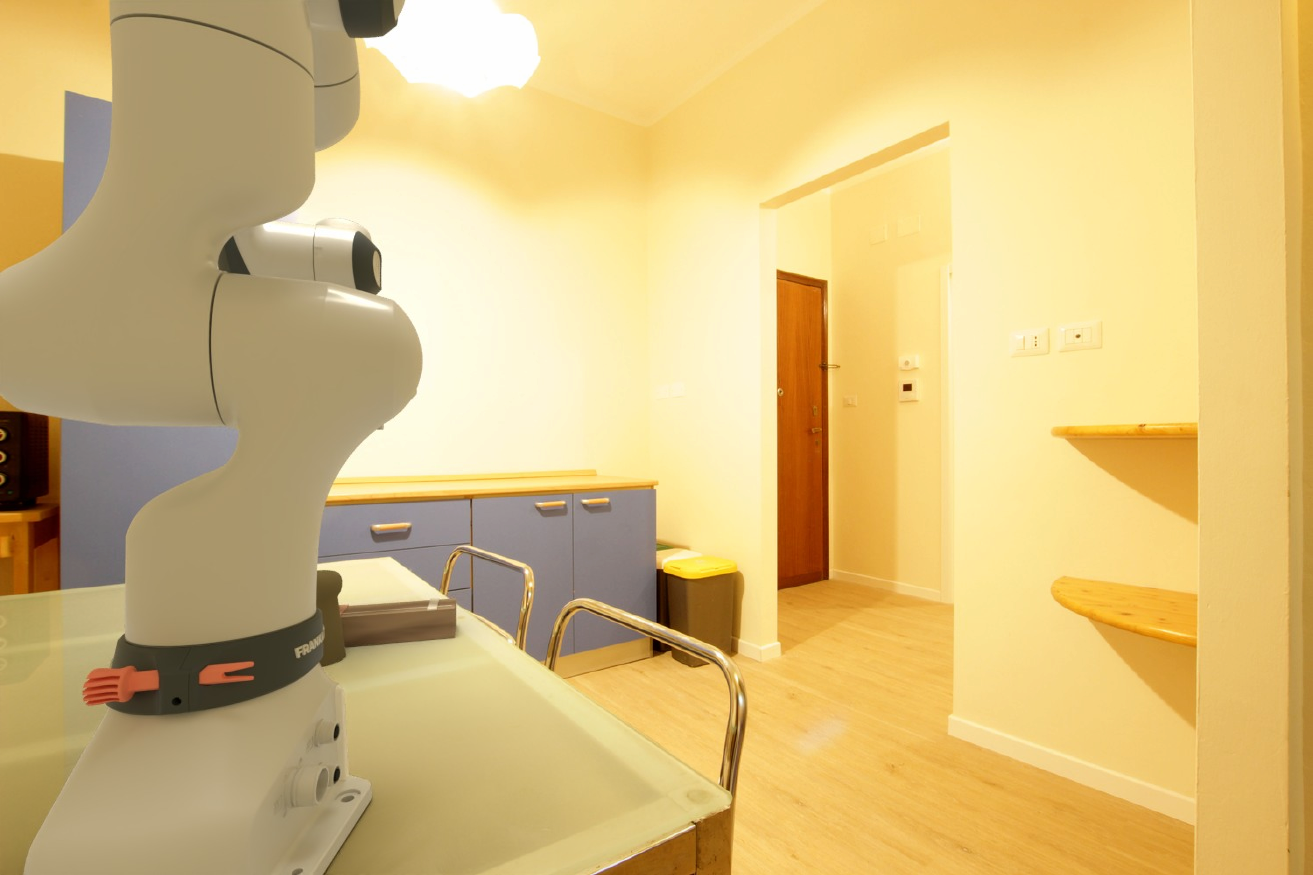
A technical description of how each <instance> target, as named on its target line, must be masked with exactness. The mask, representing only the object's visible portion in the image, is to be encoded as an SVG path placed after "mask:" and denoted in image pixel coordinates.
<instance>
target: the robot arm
mask: <svg viewBox="0 0 1313 875" xmlns="http://www.w3.org/2000/svg"><path fill="white" fill-rule="evenodd" d="M108 1H109V3H108V4H109V6H108V7H109V10H108V11H109V27H110V30H109V32H110V52H111V54H110V55H111V56H110V57H111V84H112V85H111V125H110V138H109V140H110V141H109V142H110V143H109V151H108V155H107V162H106V164H105V167H104V171H103V174H102V178H101V180H100V182H99V184H98V186H97V188H96V191H95V193H94V194H93V196H92V198H91V199H90V201H89V203H87V206H86V207H85V209H84V210H83V211H82V213H81V214H80V215H79V216H78V218H77V219H76V220H75V222H74V223H73V224H72V225H71V226H70V227H69V228H68V229H67V230H66V231H64V233H62V235H60V236H59V237H58V238H57V239H56V240H54V241H53V242H51V243H50V244H48V246H46V247H45V248H43V249H42V250H40V251H38V252H37V253H35V254H34V255H32V256H30V257H28V258H25V259H24V260H22V261H20V262H17V263H16V264H15V263H14V264H13V265H11V266H9V267H6V268H5V269H3V270H2V271H1V272H0V397H1V398H2V399H3V400H4V401H6V402H7V403H9V405H11V406H13V407H14V408H16V409H18V410H20V411H23V412H26V413H31V414H37V415H41V416H42V415H43V416H47V417H54V418H59V419H64V420H72V421H78V422H84V423H90V424H91V423H92V424H98V425H104V426H110V427H111V426H112V427H196V428H197V427H205V428H208V427H210V428H211V427H216V428H219V427H220V428H228V429H234V430H237V431H238V438H237V443H236V446H235V449H234V451H233V454H232V455H231V457H230V458H229V459H228V461H227V462H226V463H225V464H224V465H221V466H220V467H218V468H216V469H214V470H212V471H209V472H206V473H203V474H201V475H199V476H196V477H194V478H192V479H189V480H187V481H184V482H182V483H181V484H178V485H176V486H174V487H172V488H170V489H168V490H166V491H164V492H163V493H160V494H158V495H157V496H155V497H153V498H152V499H151V500H149V501H148V502H146V503H145V504H144V505H143V506H142V507H141V509H139V511H138V512H137V513H136V514H135V516H134V517H133V519H132V521H131V522H130V524H129V527H128V528H127V530H126V531H127V532H126V534H125V561H124V562H125V565H124V566H125V567H124V568H125V571H124V575H125V576H124V577H125V578H124V580H125V581H124V583H125V584H124V633H123V634H122V635H121V636H120V637H119V638H118V639H117V642H116V645H115V649H114V650H115V651H114V654H113V658H112V659H111V661H110V663H109V666H108V667H103V668H102V667H100V668H95V669H92V670H91V671H90V672H89V673H88V675H87V677H86V678H85V679H86V681H85V682H83V683H84V684H83V686H82V689H83V690H82V694H81V695H82V696H83V698H82V701H83V702H84V703H85V702H86V703H85V705H87V706H88V707H89V706H91V707H92V706H99V705H104V704H105V705H106V706H107V707H108V708H107V709H106V712H105V714H104V717H103V718H102V720H101V721H100V724H99V725H98V727H97V729H96V730H95V732H94V734H93V736H92V737H91V739H90V740H89V741H88V743H87V744H86V747H85V748H84V750H83V752H82V753H81V755H80V757H79V758H78V760H77V762H76V764H75V766H74V767H73V769H72V771H71V773H70V775H69V776H68V778H67V780H66V782H65V784H64V785H63V787H62V789H61V790H60V791H59V794H58V796H57V797H56V799H55V801H54V803H53V804H52V806H51V808H50V809H49V812H48V814H47V815H46V817H45V819H44V820H43V822H42V824H41V826H40V828H39V830H38V831H37V833H36V835H35V837H34V839H33V841H32V843H31V844H30V847H29V849H28V852H27V855H26V859H25V864H24V868H23V874H22V875H324V873H325V872H326V870H327V868H328V867H329V866H330V864H331V862H332V861H333V860H334V858H335V857H336V855H337V853H338V852H339V850H340V849H341V847H342V846H343V844H344V843H345V841H346V839H347V838H348V837H349V835H350V833H351V831H352V830H353V829H354V827H355V826H356V824H357V822H358V821H359V819H360V817H361V816H362V815H363V813H364V811H365V810H366V809H367V807H368V806H369V804H370V802H371V800H372V798H373V788H372V784H371V782H370V780H368V779H367V778H363V777H359V776H355V775H351V774H349V757H348V756H349V755H348V753H349V752H348V733H347V732H348V731H347V730H348V729H347V716H346V715H347V712H346V693H345V689H344V687H343V686H341V685H340V684H339V683H338V682H336V681H335V680H334V679H332V678H331V677H330V676H329V675H328V673H327V672H326V671H325V670H324V668H323V666H321V664H320V660H321V659H322V657H323V640H324V637H325V630H324V625H323V619H322V611H321V610H320V609H319V608H317V607H316V582H317V571H318V559H319V545H320V535H321V529H322V528H321V527H322V522H323V521H322V520H323V515H324V510H325V506H326V503H327V500H328V496H329V493H330V492H331V489H332V487H333V484H334V482H335V481H336V479H337V476H338V475H339V473H340V471H341V470H342V468H343V467H344V465H345V464H346V462H347V461H348V459H349V458H350V457H351V455H352V454H353V453H354V452H355V451H356V450H357V449H358V447H359V446H360V445H361V444H363V442H364V441H365V440H366V439H368V437H369V436H371V435H372V434H373V433H374V432H376V430H378V431H379V430H381V431H383V430H384V428H385V424H387V423H388V422H389V421H391V420H393V419H394V418H395V417H396V416H398V415H399V414H400V413H401V412H402V411H403V410H404V409H405V408H406V407H407V406H408V404H409V403H410V402H411V401H412V400H413V399H414V398H415V397H416V395H417V394H418V393H417V392H418V387H419V384H420V381H421V378H422V373H423V365H424V364H423V357H424V356H423V351H422V350H423V349H422V344H421V341H420V337H419V335H418V332H417V330H416V328H415V325H414V324H413V322H412V320H411V319H410V317H409V316H408V313H406V312H405V311H404V310H403V308H402V307H401V306H400V305H399V304H398V303H397V302H396V301H395V300H393V299H391V298H388V297H384V296H380V295H378V294H379V293H380V292H381V291H382V290H383V289H382V267H383V266H382V262H383V260H382V252H381V251H380V249H379V248H378V247H377V246H376V245H375V244H374V243H373V241H372V236H371V233H370V232H369V231H368V229H366V228H365V226H363V225H361V224H359V223H357V222H355V221H352V220H350V219H345V218H337V217H330V218H324V219H321V220H319V221H318V222H317V223H315V224H306V223H299V222H288V221H281V220H280V219H282V218H285V217H287V216H289V215H291V214H292V213H294V212H296V211H297V210H299V209H300V208H301V207H303V205H304V204H306V202H307V201H308V199H309V198H310V196H311V194H312V192H313V190H314V187H315V183H316V153H318V152H319V153H320V152H322V151H324V150H327V149H329V148H330V147H333V146H334V145H337V144H338V143H340V142H341V141H342V140H343V139H345V138H346V137H347V136H348V135H349V134H350V133H351V131H352V130H353V129H354V127H355V126H356V124H357V122H358V120H359V117H360V112H361V111H360V110H361V75H360V66H359V64H360V63H359V56H358V49H357V48H358V47H357V42H356V39H370V38H372V39H373V38H380V37H381V38H382V37H384V36H386V35H387V34H388V33H390V32H391V31H392V30H394V29H395V27H397V26H398V21H399V16H400V15H401V13H402V11H403V8H404V6H405V3H406V0H108ZM279 220H280V221H279Z"/></svg>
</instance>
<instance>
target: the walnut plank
mask: <svg viewBox="0 0 1313 875" xmlns="http://www.w3.org/2000/svg"><path fill="white" fill-rule="evenodd" d="M339 610H340V617H341V624H342V631H343V638H344V645H345V648H348V647H349V648H351V647H361V646H373V645H383V644H384V645H385V644H395V643H406V642H407V643H408V642H417V641H418V642H419V641H429V640H430V641H431V640H441V639H450V638H452V639H453V638H456V632H457V631H456V630H457V597H455V598H441V599H440V598H439V597H437V598H435V597H434V598H430V599H429V600H428V599H426V600H412V601H411V600H410V601H398V602H383V603H371V604H369V603H368V604H359V605H356V604H355V605H350V604H339Z"/></svg>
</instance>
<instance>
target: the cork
mask: <svg viewBox="0 0 1313 875" xmlns="http://www.w3.org/2000/svg"><path fill="white" fill-rule="evenodd" d="M343 581H344V580H343V578H342V575H341V574H340V573H339V572H337V571H335V570H330V569H320V570H318V569H317V582H316V607H317V608H319V609H320V610H321V611H322V619H323V625H324V630H325V637H324V640H323V657H322V659H321V660H320V664H321V666H322V667H326V666H330V665H334V664H336V663H339V662H341V661H343V660H344V659H345V658H346V656H347V653H346V647H345V645H344V638H343V631H342V624H341V617H340V610H339V605H340V603H339V595H340V593H341V592H342V588H343Z"/></svg>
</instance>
